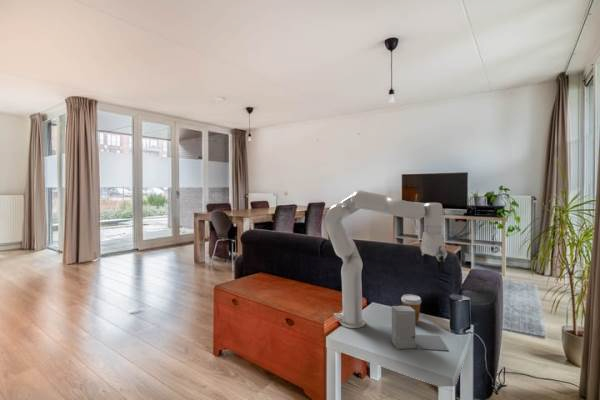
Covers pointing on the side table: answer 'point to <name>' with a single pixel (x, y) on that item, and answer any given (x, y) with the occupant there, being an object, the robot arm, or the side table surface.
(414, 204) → the robot arm
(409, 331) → the skincare box
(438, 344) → the mat
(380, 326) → the side table surface
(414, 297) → the disposable coffee cup
